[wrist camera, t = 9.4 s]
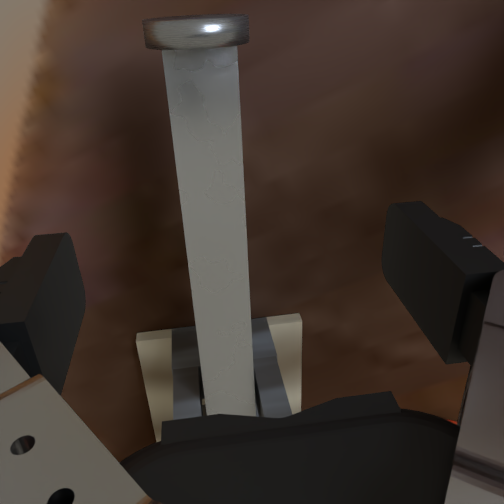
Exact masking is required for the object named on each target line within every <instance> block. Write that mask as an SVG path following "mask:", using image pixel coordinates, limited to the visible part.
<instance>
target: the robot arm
mask: <svg viewBox="0 0 504 504" xmlns="http://www.w3.org/2000/svg"><path fill="white" fill-rule="evenodd" d="M382 269H383V273H384V276H385V278H386V280H387V282H388V283H389V285H390V286H391V287H392V289H393V290H394V292H395V293H396V295H397V296H398V297H399V299H400V300H401V302H402V303H403V304H404V306H405V307H406V309H407V310H408V311H409V313H410V314H411V316H412V317H413V318H414V320H415V321H416V323H417V324H418V326H419V327H420V328H421V330H422V331H423V333H424V334H425V335H426V337H427V338H428V340H429V341H430V342H431V344H432V345H433V347H434V348H435V350H436V351H437V352H438V354H439V355H440V357H441V358H442V359H443V361H444V362H445V364H453V363H461V362H468V363H469V364H470V365H471V366H470V370H469V374H468V378H467V382H466V386H465V391H464V395H463V399H462V403H461V408H460V412H459V416H458V420H457V425H456V424H454V423H452V422H450V421H448V420H445V419H443V418H440V417H437V416H434V415H431V414H427V413H423V412H420V411H414V410H408V409H400V408H399V406H398V404H397V402H396V400H395V398H394V396H393V394H392V392H391V391H388V392H381V393H373V394H366V395H358V396H350V397H343V398H336V399H333V400H331V401H328V402H325V403H323V404H320V405H317V406H315V407H312V408H309V409H306V410H304V411H301V412H298V413H296V414H293V415H290V416H287V417H283V418H270V417H256V416H243V415H230V414H214V415H207V416H199V417H192V418H184V419H177V420H169V421H162V428H161V441H159V442H156V443H153V444H151V445H149V446H147V447H145V448H143V449H141V450H139V451H137V452H135V453H133V454H132V455H130V456H129V457H127V458H125V459H124V460H122V461H121V462H120V463H119V462H118V461H117V460H116V459H115V458H114V457H113V456H112V454H111V453H110V452H109V451H108V450H107V449H106V448H105V446H104V445H103V444H102V443H101V442H100V441H99V439H98V438H97V437H96V436H95V435H94V434H93V433H92V431H91V430H90V429H89V428H88V427H87V426H86V425H85V423H84V422H83V421H82V420H81V419H80V418H79V417H78V415H77V414H76V413H75V412H74V411H73V410H72V409H71V407H70V406H69V405H68V404H67V403H66V402H65V401H64V399H63V398H62V397H61V393H62V389H63V386H64V382H65V379H66V375H67V372H68V368H69V365H70V361H71V358H72V354H73V351H74V347H75V344H76V340H77V337H78V333H79V330H80V326H81V323H82V319H83V316H84V312H85V290H84V285H83V281H82V277H81V273H80V270H79V266H78V262H77V258H76V254H75V250H74V246H73V242H72V239H71V237H70V235H69V234H68V233H56V234H45V235H35V236H34V237H33V238H32V240H31V242H30V243H29V245H28V247H27V249H26V250H25V252H24V254H23V256H22V257H13V258H12V259H11V260H9V261H8V262H7V263H5V264H4V265H3V266H1V267H0V504H504V262H502V261H501V260H500V259H499V258H498V257H497V256H495V255H494V254H493V253H492V252H491V251H490V250H488V249H487V248H486V247H485V246H482V244H481V243H480V242H479V241H478V240H477V239H475V238H472V235H471V234H470V233H468V232H467V231H466V230H465V229H464V228H462V227H461V226H460V225H458V224H456V223H453V222H451V221H449V220H447V219H444V218H440V217H439V216H438V215H437V214H435V213H434V212H433V211H432V210H431V209H430V208H429V207H428V206H426V205H425V204H424V203H423V202H421V201H416V202H405V203H394V204H391V205H390V206H389V208H388V211H387V216H386V225H385V233H384V242H383V251H382Z"/></svg>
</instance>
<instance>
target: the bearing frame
mask: <svg viewBox="0 0 504 504" xmlns="http://www.w3.org/2000/svg"><path fill="white" fill-rule="evenodd" d="M251 328H252V348H253V367H254V387H255V406H256V417H270V418H283V417H287V416H290V415H293V414H296V413H298V412H301V370H302V319H301V317H300V314H299V313H296V314H288V315H280V316H272V317H263V318H255V319H251ZM136 345H137V350H138V355H139V359H140V364H141V369H142V374H143V379H144V384H145V389H146V393H147V398H148V403H149V408H150V413H151V418H152V423H153V428H154V432H155V437H156V442H159V441H161V428H162V421H169V420H177V419H184V418H192V417H199V416H207V413H206V405H205V396H204V388H203V380H202V372H201V364H200V356H199V348H198V340H197V332H196V326H190V327H182V328H174V329H166V330H158V331H149V332H141V333H137V336H136Z"/></svg>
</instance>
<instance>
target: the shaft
mask: <svg viewBox="0 0 504 504" xmlns="http://www.w3.org/2000/svg"><path fill="white" fill-rule="evenodd" d="M142 24H143V32H144V39H145V46H146V48H149V49H156V50H162V56H163V64H164V73H165V81H166V89H167V97H168V105H169V113H170V121H171V129H172V137H173V145H174V154H175V162H176V170H177V178H178V186H179V194H180V202H181V210H182V218H183V226H184V234H185V243H186V251H187V259H188V267H189V275H190V283H191V291H192V299H193V307H194V315H195V324H196V332H197V340H198V348H199V356H200V364H201V372H202V380H203V388H204V396H205V405H206V413H207V415H214V414H230V415H243V416H256V406H255V387H254V367H253V348H252V328H251V309H250V289H249V270H248V250H247V231H246V212H245V192H244V173H243V153H242V134H241V114H240V95H239V75H238V56H237V45H242V44H246V43H248V42H249V17H248V15H247V14H207V15H187V16H172V17H160V18H151V19H144V20H142Z"/></svg>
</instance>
